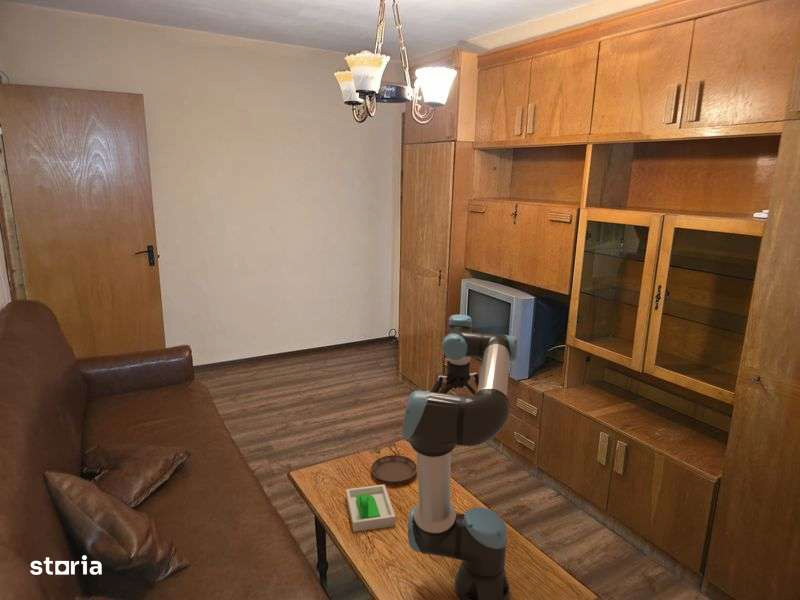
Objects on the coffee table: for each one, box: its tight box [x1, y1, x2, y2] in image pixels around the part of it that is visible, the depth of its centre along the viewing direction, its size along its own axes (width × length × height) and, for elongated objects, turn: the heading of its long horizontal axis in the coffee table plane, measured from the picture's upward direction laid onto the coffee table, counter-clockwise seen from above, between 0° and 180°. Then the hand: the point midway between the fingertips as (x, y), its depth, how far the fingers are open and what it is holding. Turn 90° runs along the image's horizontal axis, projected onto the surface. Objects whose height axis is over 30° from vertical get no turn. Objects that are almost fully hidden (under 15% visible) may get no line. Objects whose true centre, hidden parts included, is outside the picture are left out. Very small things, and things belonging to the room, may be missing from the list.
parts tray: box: [345, 483, 396, 533], centre depth 177 cm, size 18×14×4 cm
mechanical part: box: [356, 494, 380, 519], centre depth 175 cm, size 12×6×8 cm, turn 15°
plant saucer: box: [370, 454, 417, 485], centre depth 199 cm, size 18×18×3 cm
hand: (456, 419), depth 176 cm, fingers open, 13 cm apart
